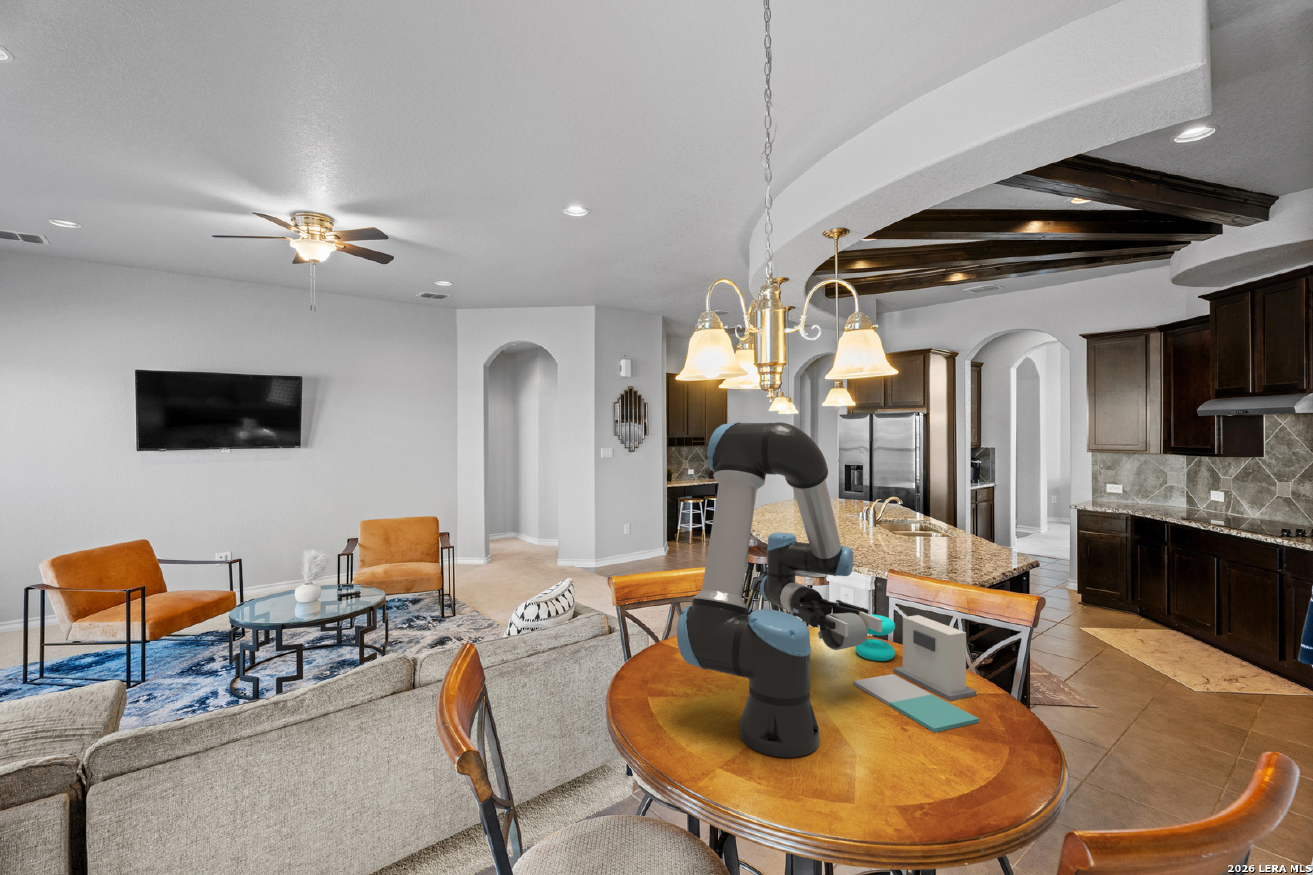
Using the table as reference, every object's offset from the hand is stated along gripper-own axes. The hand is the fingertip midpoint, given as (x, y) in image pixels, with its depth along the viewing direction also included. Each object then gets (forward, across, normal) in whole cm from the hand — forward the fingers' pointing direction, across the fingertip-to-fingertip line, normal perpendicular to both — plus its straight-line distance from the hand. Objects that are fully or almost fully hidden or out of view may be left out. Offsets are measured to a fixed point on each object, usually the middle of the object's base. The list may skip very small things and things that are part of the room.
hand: (863, 627), depth 124 cm
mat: (+1, -12, -17) cm, 21 cm away
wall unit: (-5, -25, -17) cm, 30 cm away
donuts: (-24, -24, -17) cm, 38 cm away
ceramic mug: (-7, +1, -6) cm, 10 cm away
